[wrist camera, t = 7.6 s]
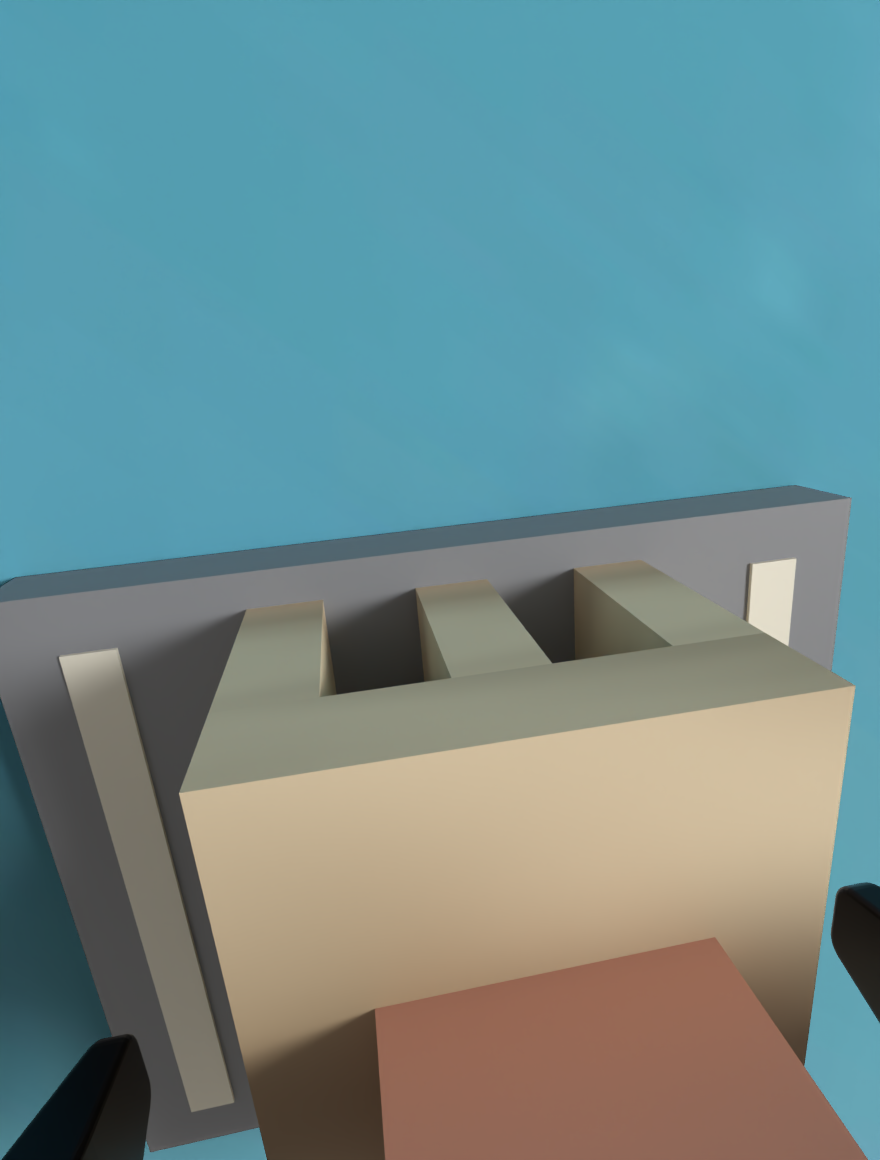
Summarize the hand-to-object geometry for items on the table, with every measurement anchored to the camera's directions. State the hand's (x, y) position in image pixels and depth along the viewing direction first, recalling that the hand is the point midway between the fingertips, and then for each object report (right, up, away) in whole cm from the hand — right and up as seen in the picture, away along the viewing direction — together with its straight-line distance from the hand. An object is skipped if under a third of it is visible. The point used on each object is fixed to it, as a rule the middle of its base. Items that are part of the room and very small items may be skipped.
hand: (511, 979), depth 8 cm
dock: (-1, +1, +3) cm, 4 cm away
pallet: (0, +1, +2) cm, 2 cm away
